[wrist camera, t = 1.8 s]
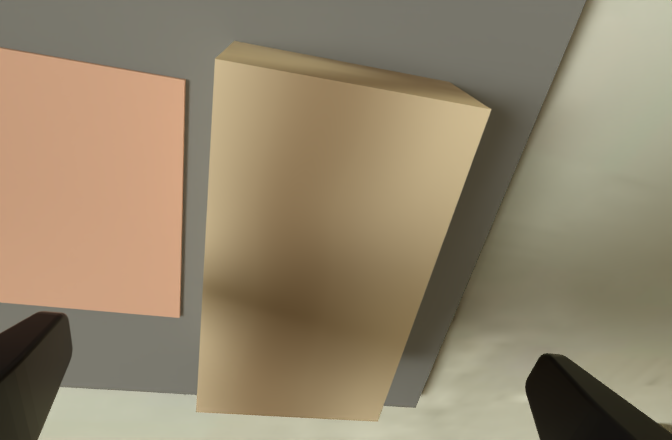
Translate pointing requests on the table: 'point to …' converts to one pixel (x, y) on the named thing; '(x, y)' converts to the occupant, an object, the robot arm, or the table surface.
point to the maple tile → (322, 228)
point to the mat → (194, 155)
